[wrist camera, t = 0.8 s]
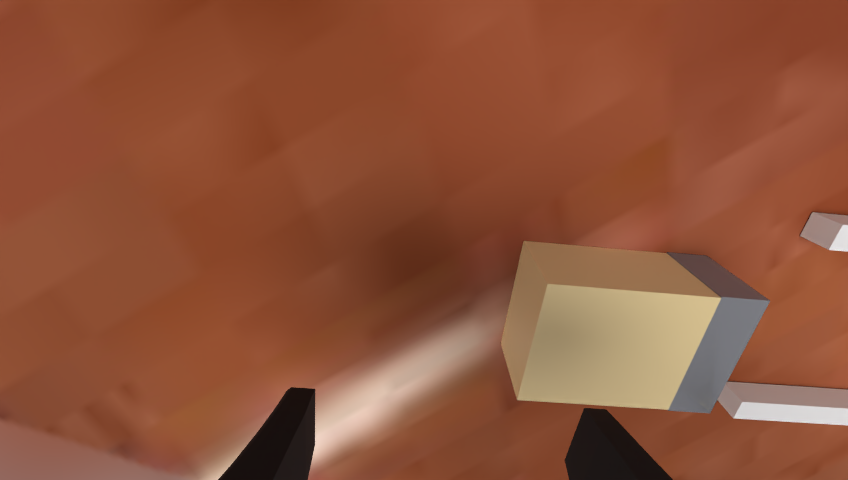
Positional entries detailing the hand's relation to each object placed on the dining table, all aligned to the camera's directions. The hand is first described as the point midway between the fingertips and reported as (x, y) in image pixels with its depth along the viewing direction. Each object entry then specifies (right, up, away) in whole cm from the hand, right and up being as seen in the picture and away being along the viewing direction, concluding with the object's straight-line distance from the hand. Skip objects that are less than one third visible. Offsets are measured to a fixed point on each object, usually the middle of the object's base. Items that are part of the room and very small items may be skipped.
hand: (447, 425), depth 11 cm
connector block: (+8, +2, +10) cm, 13 cm away
